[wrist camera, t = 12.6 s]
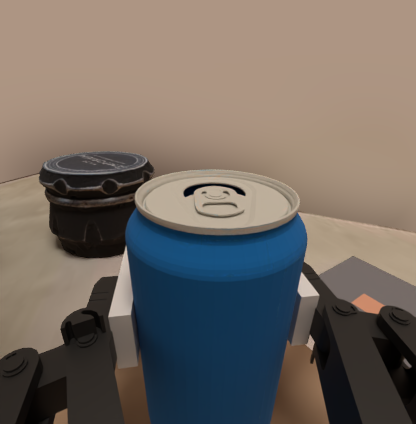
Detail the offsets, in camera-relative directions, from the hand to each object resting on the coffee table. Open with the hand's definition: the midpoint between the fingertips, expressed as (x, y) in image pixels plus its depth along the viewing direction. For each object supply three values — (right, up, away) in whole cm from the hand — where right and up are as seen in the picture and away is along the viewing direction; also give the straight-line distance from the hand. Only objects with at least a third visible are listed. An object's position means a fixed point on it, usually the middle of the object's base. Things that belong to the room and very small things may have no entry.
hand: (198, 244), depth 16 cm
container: (-13, -1, +18) cm, 22 cm away
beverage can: (+1, -8, -2) cm, 9 cm away
